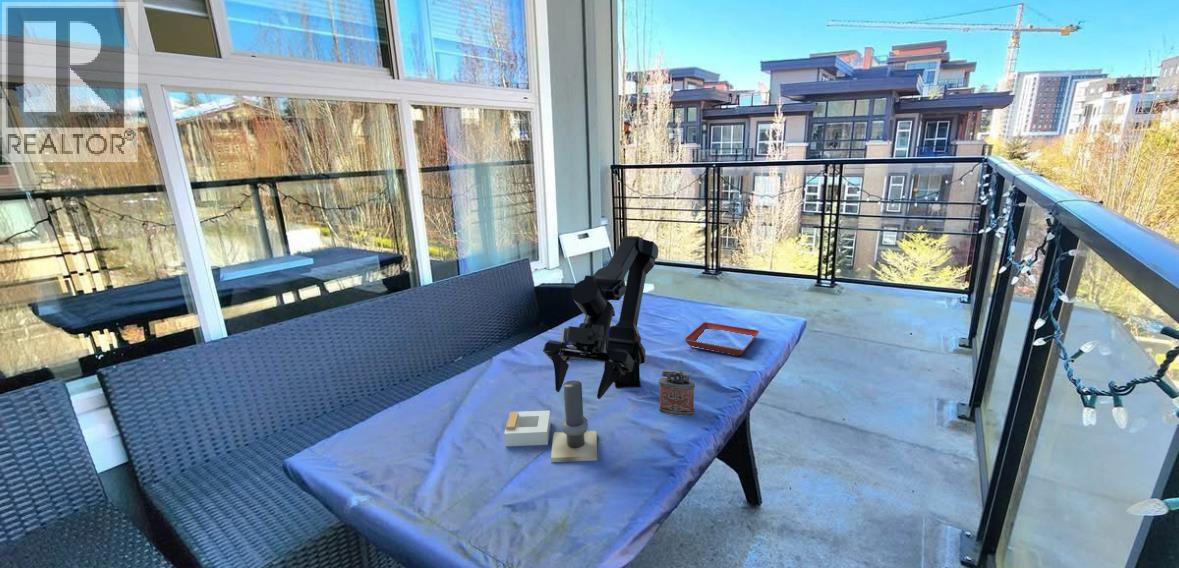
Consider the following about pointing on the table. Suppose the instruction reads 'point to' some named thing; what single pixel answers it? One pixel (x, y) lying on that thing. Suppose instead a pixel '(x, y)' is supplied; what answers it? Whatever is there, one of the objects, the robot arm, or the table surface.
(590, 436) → the birch board
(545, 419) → the socket block
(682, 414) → the lighter
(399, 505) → the table surface
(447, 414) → the table surface
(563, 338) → the storage tray
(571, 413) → the plug
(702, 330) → the plant saucer
